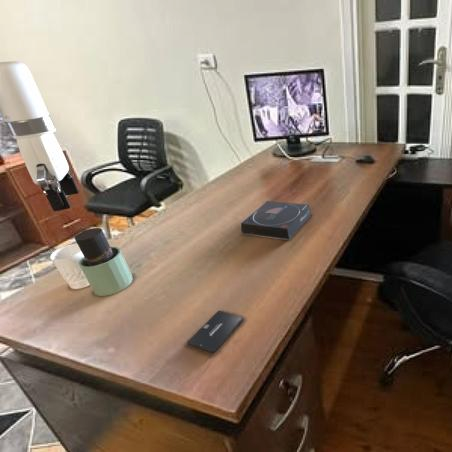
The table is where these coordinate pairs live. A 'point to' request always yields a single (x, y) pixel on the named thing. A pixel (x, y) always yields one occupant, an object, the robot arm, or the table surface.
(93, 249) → the deodorant
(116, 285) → the pen holder
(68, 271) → the white cup
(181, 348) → the table surface
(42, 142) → the robot arm
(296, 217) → the portable cd player
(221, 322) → the solid state drive
